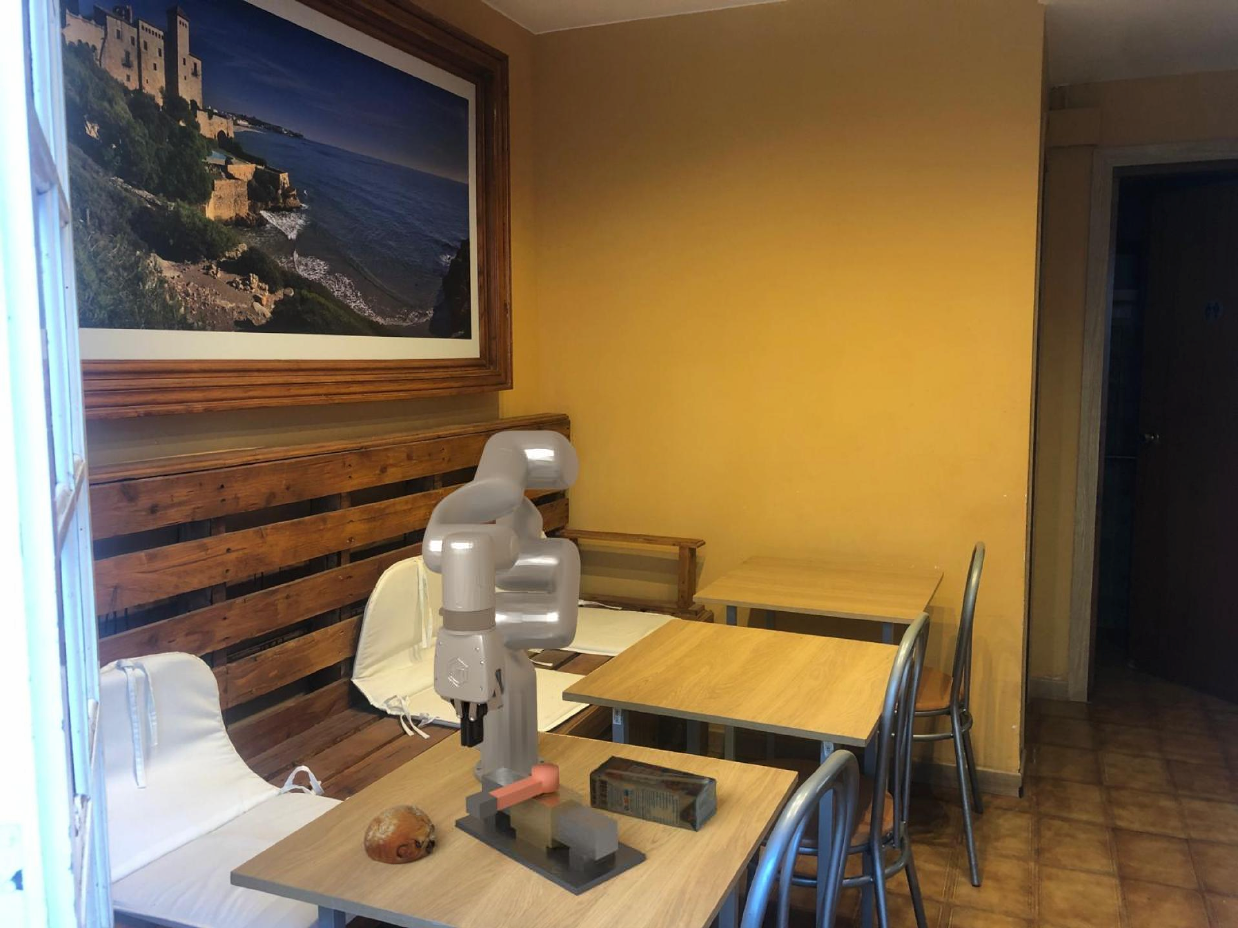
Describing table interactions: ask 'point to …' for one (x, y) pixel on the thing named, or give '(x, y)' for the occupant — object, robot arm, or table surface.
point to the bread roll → (400, 835)
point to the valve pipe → (554, 836)
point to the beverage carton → (653, 793)
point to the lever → (514, 791)
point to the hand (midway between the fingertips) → (472, 743)
